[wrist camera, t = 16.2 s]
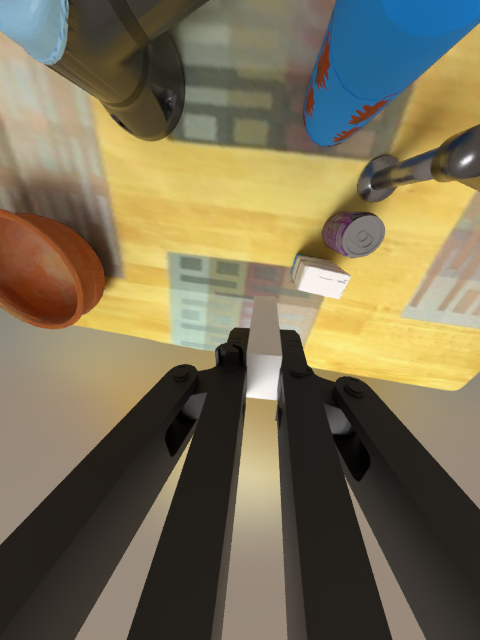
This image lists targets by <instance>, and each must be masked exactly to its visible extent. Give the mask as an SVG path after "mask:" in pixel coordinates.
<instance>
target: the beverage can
mask: <svg viewBox="0 0 480 640" xmlns="http://www.w3.org/2000/svg"><path fill="white" fill-rule="evenodd" d="M384 235H385V226H384V224H383V222H382V221H381V219H379V218H378V217H377V216H376V215H374V214H372V213H369V212H341V213H338V214H335V215H334V216H332V217H331V218H330V219H329V220H328V221H327V222H326V224H325V226H324V228H323V232H322V238H323V241H324V243H325V245H326V246H328V247H329V248H331V249H333V250H335V251H336V252H338V253H340V254H342V255H344V256H346V257H350V258H357V257H363V256H366V255H369V254H371V253H372V252H374V251H375V250H376V249H377V248H378V247H379V246H380V244H381V243H382V241H383V238H384Z"/></svg>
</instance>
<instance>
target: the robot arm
mask: <svg viewBox="0 0 480 640" xmlns="http://www.w3.org/2000/svg"><path fill="white" fill-rule="evenodd" d="M208 1H209V0H0V31H1V32H2V33H4V34H5V35H6V36H7V37H9V38H10V39H11V40H13V41H14V42H15V43H17V44H18V45H19V46H21V47H22V48H23V49H24V50H25V51H26V52H27V53H28V54H29V55H30V56H32V57H33V58H34V59H36V60H38V61H39V62H41V63H43V64H45V65H46V66H48V67H49V68H51V69H52V70H54V71H55V72H57V73H58V74H60V75H62V76H63V77H65V78H66V79H68V80H69V81H71V82H72V83H74V84H75V85H77V86H79V87H80V88H82V89H83V90H85V91H86V92H88V93H89V94H91V95H92V96H94V97H96V98H97V99H99V101H100V102H101V103H102V105H103V106H104V107H105V109H106V110H107V112H108V113H109V114H110V116H111V117H112V118H113V119H114V120H115V122H116V123H117V124H118V125H119V126H121V127H122V128H123V129H124V130H125V131H127V132H128V133H130V134H132V135H133V136H135V137H137V138H139V139H142V140H145V141H157V140H161V139H163V138H165V137H166V136H167V135H169V134H170V133H171V132H172V131H173V129H174V128H175V127H176V125H177V123H178V121H179V119H180V116H181V113H182V109H183V104H184V95H185V85H184V75H183V70H182V65H181V62H180V58H179V55H178V53H177V50H176V48H175V46H174V44H173V42H172V40H171V38H170V37H169V35H168V33H167V31H169V30H170V29H171V28H173V27H174V26H175V25H177V24H178V23H179V22H181V21H182V20H183V19H185V18H186V17H187V16H189V15H190V14H192V13H193V12H194V11H196V10H197V9H198V8H200V7H201V6H202V5H204V4H205V3H206V2H208ZM215 357H216V366H215V367H213V368H211V369H208V370H202V371H197V369H196V368H195V367H194V366H192V365H188V364H183V365H178V366H176V367H174V368H172V369H171V370H170V371H168V372H167V373H166V374H165V375H164V377H162V379H161V380H160V381H159V382H158V383H157V384H156V385H155V386H154V387H153V388H152V389H151V390H150V391H149V392H148V393H147V394H146V395H145V396H144V397H143V398H142V399H141V400H140V401H139V402H138V403H137V405H136V406H134V407H133V408H132V409H131V411H130V412H129V413H128V414H127V415H126V416H125V417H124V418H123V419H122V420H121V421H120V422H119V423H118V424H117V425H116V426H115V427H114V428H113V429H112V430H111V431H110V432H109V433H108V434H107V435H106V436H105V437H104V438H103V439H102V440H101V442H100V443H99V444H98V445H97V446H96V447H95V448H94V449H93V450H92V451H91V452H90V453H89V454H88V455H87V456H86V457H85V458H84V459H83V460H82V461H81V462H80V463H79V464H78V465H77V466H76V467H75V468H74V469H73V471H71V473H70V474H69V475H68V476H67V477H66V478H65V479H64V480H63V481H62V482H61V483H60V484H59V485H58V486H57V487H56V488H55V489H54V490H53V491H52V492H51V493H50V494H49V495H48V496H47V497H46V498H45V499H44V501H42V502H41V503H40V505H39V506H38V507H37V508H36V509H35V510H34V511H33V512H32V513H31V514H30V515H29V516H28V517H27V518H26V519H25V520H24V521H23V522H22V523H21V524H20V525H19V526H18V527H17V528H16V529H15V531H13V533H11V535H10V536H9V537H8V538H7V539H6V540H5V541H4V542H3V543H2V544H1V545H0V640H74V639H75V638H76V636H77V634H78V632H79V631H80V629H81V627H82V625H83V624H84V622H85V620H86V619H87V617H88V615H89V613H90V611H91V610H92V608H93V607H94V605H95V603H96V601H97V599H98V598H99V596H100V594H101V593H102V591H103V589H104V588H105V586H106V584H107V582H108V581H109V579H110V577H111V575H112V574H113V572H114V570H115V569H116V567H117V565H118V563H119V561H120V560H121V558H122V557H123V555H124V553H125V551H126V550H127V548H128V546H129V545H130V543H131V541H132V539H133V537H134V536H135V534H136V532H137V531H138V529H139V527H140V526H141V524H142V522H143V520H144V519H145V517H146V515H147V513H148V512H149V510H150V508H151V507H152V505H153V503H154V501H155V500H156V498H157V496H158V495H159V493H160V491H161V489H162V488H163V486H164V484H165V482H166V481H167V479H168V477H169V476H170V474H171V472H172V470H173V469H174V467H175V465H176V464H177V462H178V460H179V458H180V457H181V455H182V453H183V451H184V450H185V448H186V446H187V445H188V443H189V441H190V439H191V438H192V436H193V438H192V441H191V444H190V447H189V450H188V453H187V457H186V460H185V463H184V466H183V469H182V472H181V475H180V478H179V481H178V484H177V487H176V490H175V493H174V496H173V499H172V502H171V506H170V509H169V512H168V515H167V518H166V521H165V524H164V527H163V530H162V533H161V536H160V539H159V542H158V545H157V548H156V551H155V555H154V558H153V561H152V564H151V567H150V570H149V573H148V576H147V579H146V582H145V585H144V588H143V591H142V594H141V597H140V600H139V603H138V607H137V609H136V613H135V616H134V619H133V622H132V625H131V628H130V631H129V634H128V637H127V640H221V637H222V628H223V617H224V609H225V599H226V589H227V579H228V569H229V561H230V560H229V559H230V550H231V542H232V532H233V523H234V513H235V504H236V494H237V485H238V475H239V466H240V456H241V447H242V437H243V427H244V418H245V409H246V397H251V398H261V399H272V400H277V399H278V405H277V412H276V419H275V420H276V421H277V426H278V447H279V469H280V487H281V510H282V532H283V551H284V552H283V553H284V573H285V594H286V614H287V636H288V640H392V637H391V633H390V630H389V626H388V623H387V620H386V616H385V613H384V609H383V606H382V603H381V599H380V596H379V592H378V589H377V586H376V583H375V579H374V575H373V572H372V569H371V565H370V562H369V558H368V555H367V552H366V548H365V545H364V541H363V538H362V534H361V531H360V527H359V524H358V521H357V517H356V514H355V510H354V507H353V504H352V500H351V497H350V493H349V490H348V487H347V483H346V480H345V477H346V479H347V481H348V483H349V485H350V487H351V489H352V491H353V493H354V495H355V497H356V499H357V501H358V503H359V505H360V507H361V509H362V511H363V513H364V515H365V517H366V519H367V521H368V523H369V525H370V527H371V529H372V531H373V533H374V535H375V537H376V539H377V541H378V543H379V545H380V547H381V549H382V551H383V553H384V555H385V557H386V560H387V561H388V564H389V566H390V567H391V570H392V572H393V574H394V575H395V578H396V579H397V582H398V583H399V585H400V588H401V590H402V592H403V594H404V596H405V598H406V599H407V602H408V604H409V606H410V608H411V609H412V611H413V614H414V616H415V618H416V620H417V622H418V624H419V626H420V628H421V630H422V632H423V634H424V636H425V638H426V640H480V509H479V508H478V507H477V506H476V505H475V504H474V503H473V501H472V500H471V499H470V498H469V497H468V496H467V495H466V494H465V492H464V491H463V490H462V489H461V488H460V487H459V486H458V485H457V483H456V482H455V481H454V480H453V479H452V478H451V477H450V476H449V475H448V473H447V472H446V471H445V470H444V469H443V468H442V467H441V466H440V465H439V463H438V462H437V461H436V460H435V459H434V458H433V457H432V456H431V455H430V453H429V452H428V451H427V450H426V449H425V448H424V447H423V446H422V444H421V443H420V442H419V441H418V440H417V439H416V438H415V437H414V436H413V434H412V433H411V432H410V431H409V430H408V429H407V428H406V427H405V425H403V423H402V422H401V421H400V420H399V419H398V418H397V417H396V415H395V414H394V413H393V412H392V411H391V410H390V409H389V408H388V407H387V406H386V404H385V403H384V402H383V401H382V400H381V399H380V398H379V396H378V395H377V394H376V393H375V392H374V391H373V390H372V389H371V388H370V387H369V386H368V385H367V384H366V383H364V382H362V381H361V380H359V379H357V378H353V377H345V376H344V377H340V378H338V379H337V380H336V382H333V381H330V380H326V379H323V378H321V377H319V376H317V375H315V374H314V372H313V370H312V368H310V367H309V366H308V365H307V362H306V358H305V354H304V351H303V347H302V343H301V339H300V336H299V334H298V333H297V332H296V331H295V330H280V329H279V321H278V312H277V303H276V297H272V296H255V298H254V305H253V312H252V319H251V326H250V328H234V329H233V330H232V331H231V332H230V334H229V338H228V341H227V343H224V344H221V345H220V346H218V347H217V348H216V350H215ZM193 434H194V435H193ZM344 475H345V476H344Z"/></svg>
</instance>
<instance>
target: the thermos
mask: <svg viewBox="0 0 480 640" xmlns="http://www.w3.org/2000/svg"><path fill="white" fill-rule="evenodd" d="M479 23H480V0H336V3H335V6H334V9H333V13H332V16H331V19H330V22H329V25H328V28H327V31H326V34H325V37H324V40H323V43H322V46H321V49H320V52H319V55H318V58H317V61H316V64H315V67H314V70H313V73H312V77H311V80H310V83H309V86H308V89H307V93H306V97H305V102H304V113H303V119H304V124H305V129H306V132H307V133H308V135H309V136H310V138H311V140H312V141H314V142H315V143H317V144H318V145H320V146H328V147H331V146H334V145H337V144H340V143H342V142H344V141H345V140H346V139H348V138H349V137H351V136H352V135H353V134H355V133H356V132H357V131H359V130H360V129H361V128H362V127H363V126H365V125H366V124H367V123H368V122H369V121H370V120H371V119H372V118H374V117H375V116H376V115H377V114H378V113H379V112H380V111H381V110H383V109H384V108H385V107H386V106H387V105H388V104H389V103H390V102H391V101H393V100H394V99H395V98H396V97H397V96H398V95H399V94H400V93H402V92H403V91H404V90H405V89H406V88H407V87H408V86H409V85H410V84H412V83H413V82H414V81H415V80H416V79H417V78H418V77H419V76H421V75H422V74H423V73H424V72H425V71H426V70H427V69H428V68H430V67H431V66H432V65H433V64H434V63H435V62H436V61H437V60H438V59H440V58H441V57H442V56H443V55H444V54H445V53H446V52H447V51H449V50H450V49H451V48H452V47H453V46H454V45H455V44H456V43H458V42H459V41H460V40H461V39H462V38H463V37H464V36H465V35H466V34H468V33H469V32H470V31H471V30H472V29H473V28H474V27H475V26H477V25H478V24H479Z"/></svg>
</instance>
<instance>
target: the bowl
mask: <svg viewBox="0 0 480 640" xmlns="http://www.w3.org/2000/svg"><path fill="white" fill-rule="evenodd" d="M104 288H105V278H104V270H103V268H102V264H101V262H100V260H99V258H98V256H97V255H96V253H95V251H94V250H93V249H92V248H91V247H90V246H89V244H88V243H87V242H86V241H85V240H84V239H83V238H82V237H80V236H79V235H78V234H77V233H76V232H75V231H73V230H72V229H71V228H69V227H68V226H66V225H64V224H62V223H59V222H57V221H55V220H52V219H49V218H46V217H41V216H37V215H32V214H26V213H16V214H14V213H11V212H9V211H7V210H3V209H0V307H1V308H2V309H4V310H5V311H7V312H8V313H10V314H11V315H13V316H15V317H16V318H18V319H20V320H21V321H23V322H26V323H28V324H31V325H34V326H36V327H41V328H47V329H61V328H66V327H68V326H70V325H73V324H74V323H76V322H77V321H78V320H79V318H80V317H81V316H82V315H83V314H86V313H88V312H89V311H90V310H92V309H93V308H94V307H95V306H96V305H97V304H98V302H99V301H100V299H101V297H102V295H103V291H104Z"/></svg>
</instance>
